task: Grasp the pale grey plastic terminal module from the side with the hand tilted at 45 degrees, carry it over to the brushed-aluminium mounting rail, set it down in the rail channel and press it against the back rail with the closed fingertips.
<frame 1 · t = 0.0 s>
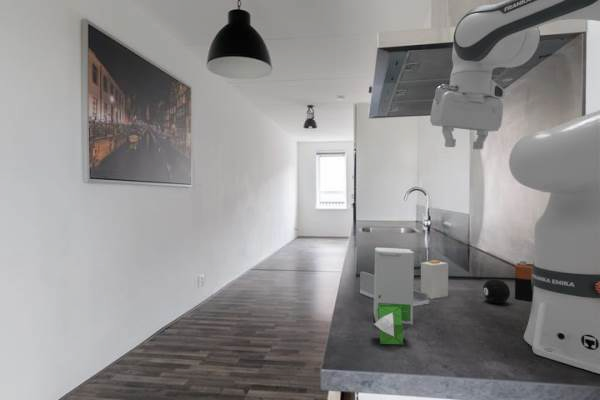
hand: (464, 148, 88), 39 cm above the countertop, tool pointing down, fingers open, 8 cm apart
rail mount: (392, 298, 99), on the countertop
skincare box: (392, 319, 82), on the countertop
module: (434, 295, 101), on the countertop
billiard ball: (496, 303, 94), on the countertop
battery: (530, 300, 98), on the countertop
geometric puzzle: (390, 342, 69), on the countertop
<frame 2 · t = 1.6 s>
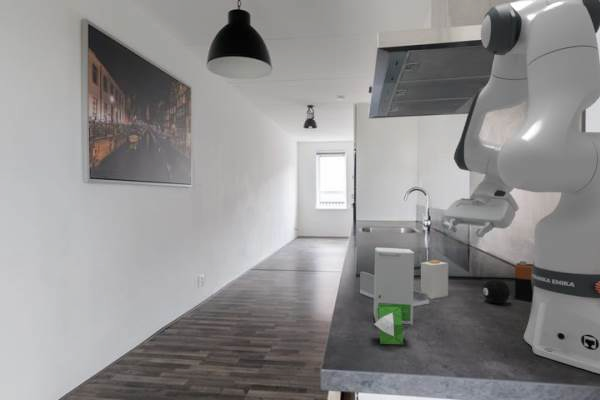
hand: (464, 233, 107), 16 cm above the countertop, tool tilted 45°, fingers open, 8 cm apart
nothing on the countertop moved.
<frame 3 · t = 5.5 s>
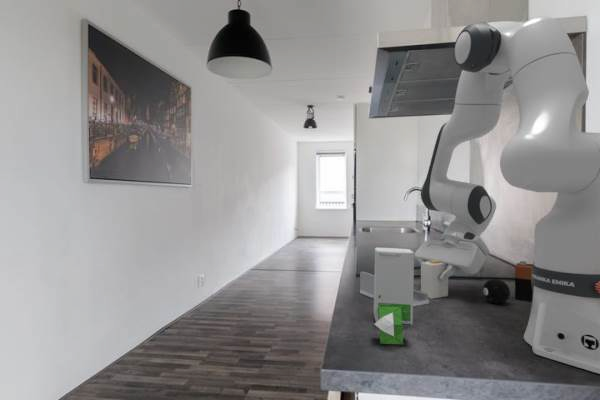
hand: (432, 278, 101), 5 cm above the countertop, tool tilted 45°, fingers closed on module, 4 cm apart
module: (434, 295, 101), on the countertop, touching gripper
everything else where it was.
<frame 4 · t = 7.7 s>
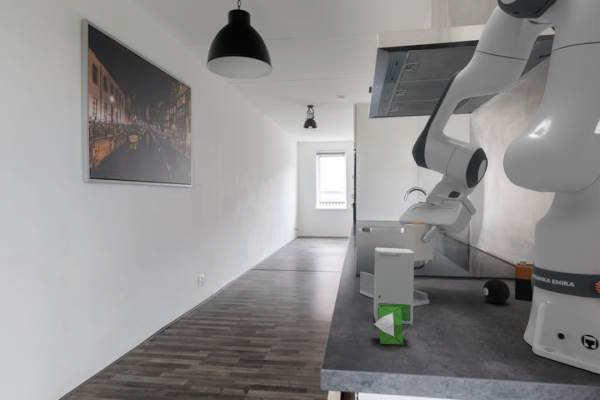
hand: (416, 240, 95), 16 cm above the countertop, tool tilted 45°, fingers closed on module, 4 cm apart
module: (418, 259, 95), point 11 cm above the countertop, touching gripper
everything else where it was.
when the fingers open (7 cm above the countertop, at t = 10.1 s): module drops 1 cm, resting on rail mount.
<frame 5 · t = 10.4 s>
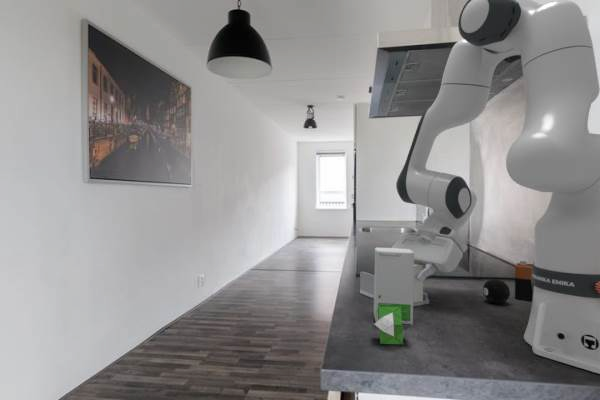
hand: (406, 276, 93), 7 cm above the countertop, tool tilted 45°, fingers open, 7 cm apart
module: (408, 300, 93), point 1 cm above the countertop, touching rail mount
everything else where it was.
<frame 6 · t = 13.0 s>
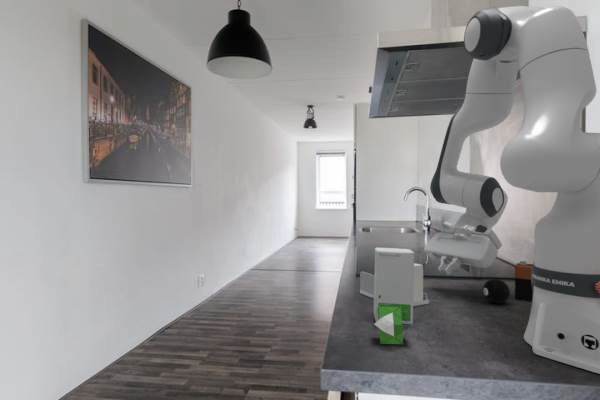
hand: (443, 272, 99), 7 cm above the countertop, tool tilted 45°, fingers closed
nothing on the countertop moved.
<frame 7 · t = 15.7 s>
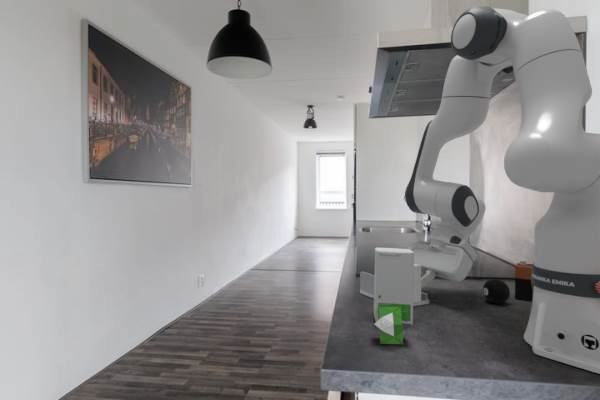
hand: (416, 284, 95), 5 cm above the countertop, tool tilted 45°, fingers closed, pressing on module
module: (406, 300, 93), point 1 cm above the countertop, touching gripper, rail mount
everything else where it was.
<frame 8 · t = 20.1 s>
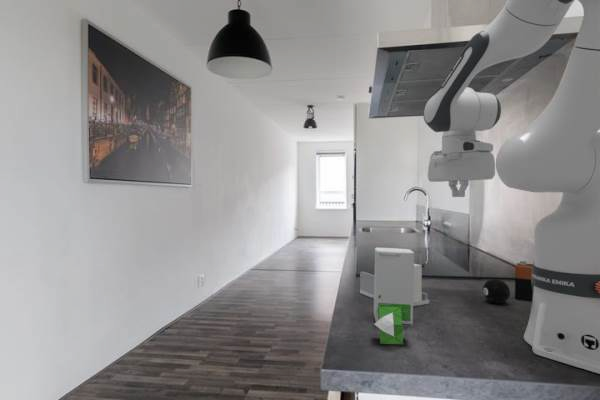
hand: (458, 197, 104), 27 cm above the countertop, tool pointing down, fingers closed
module: (406, 300, 93), point 1 cm above the countertop, touching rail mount
everything else where it was.
at the end: module inside the target area on the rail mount (6.1 cm from its centre), point 1.0 cm above the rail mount's base; module tilted 0°; the gripper is holding nothing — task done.
